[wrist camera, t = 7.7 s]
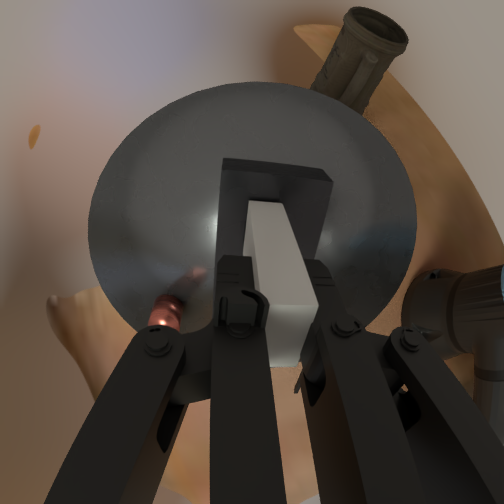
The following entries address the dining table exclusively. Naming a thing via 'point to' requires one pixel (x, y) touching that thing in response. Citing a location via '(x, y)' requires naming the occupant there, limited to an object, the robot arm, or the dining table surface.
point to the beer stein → (360, 57)
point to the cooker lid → (237, 199)
